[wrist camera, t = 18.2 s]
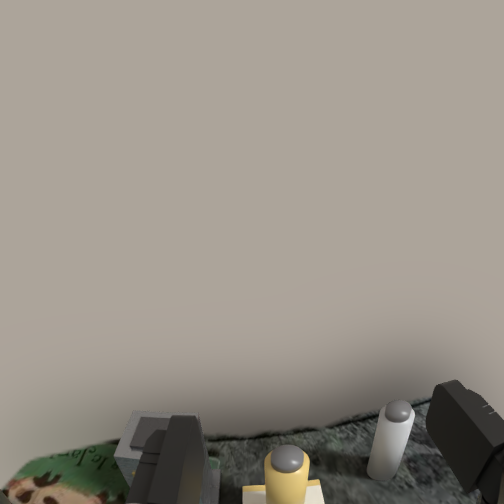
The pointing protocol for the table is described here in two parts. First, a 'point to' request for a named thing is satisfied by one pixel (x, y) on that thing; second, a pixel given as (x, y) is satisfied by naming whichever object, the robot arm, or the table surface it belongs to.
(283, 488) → the cylinder
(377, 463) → the cylinder
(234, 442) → the table surface
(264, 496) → the pad
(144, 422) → the unit
